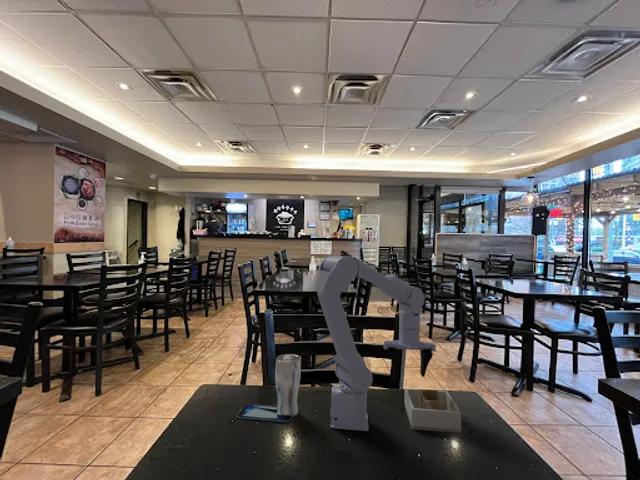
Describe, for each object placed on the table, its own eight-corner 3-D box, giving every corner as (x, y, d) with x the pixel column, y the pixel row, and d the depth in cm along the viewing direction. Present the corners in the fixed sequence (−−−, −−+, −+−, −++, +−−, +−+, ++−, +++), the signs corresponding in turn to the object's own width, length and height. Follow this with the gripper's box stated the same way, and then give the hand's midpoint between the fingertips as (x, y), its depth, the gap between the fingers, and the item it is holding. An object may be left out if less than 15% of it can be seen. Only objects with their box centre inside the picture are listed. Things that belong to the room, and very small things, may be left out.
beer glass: (295, 421, 82) (296, 363, 83) (270, 417, 84) (271, 361, 84) (302, 407, 89) (303, 354, 89) (279, 405, 90) (280, 352, 91)
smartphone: (245, 403, 90) (296, 407, 88) (245, 407, 90) (296, 410, 88) (234, 417, 83) (289, 421, 81) (234, 420, 83) (289, 425, 81)
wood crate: (424, 422, 81) (424, 400, 81) (418, 408, 88) (418, 388, 88) (444, 423, 81) (444, 402, 81) (436, 410, 88) (437, 390, 88)
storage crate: (411, 429, 79) (411, 409, 80) (404, 405, 91) (404, 388, 92) (461, 433, 78) (461, 412, 78) (447, 408, 90) (447, 391, 90)
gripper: (385, 330, 88) (385, 379, 87) (439, 332, 86) (438, 381, 86) (382, 324, 95) (382, 369, 94) (432, 325, 93) (431, 371, 93)
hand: (408, 374), depth 91 cm, fingers open, 7 cm apart
